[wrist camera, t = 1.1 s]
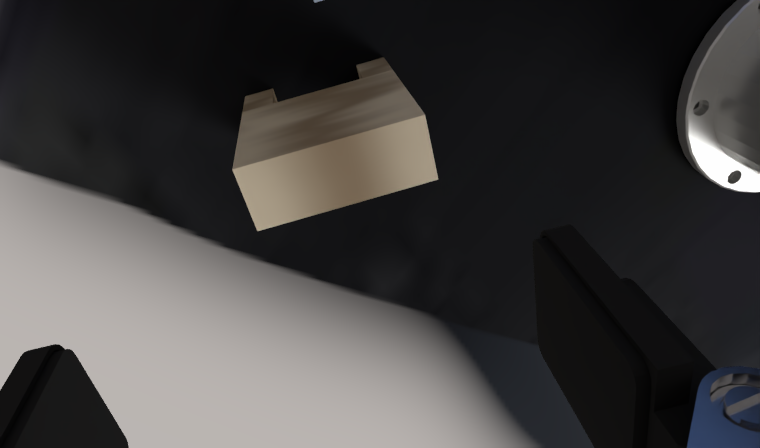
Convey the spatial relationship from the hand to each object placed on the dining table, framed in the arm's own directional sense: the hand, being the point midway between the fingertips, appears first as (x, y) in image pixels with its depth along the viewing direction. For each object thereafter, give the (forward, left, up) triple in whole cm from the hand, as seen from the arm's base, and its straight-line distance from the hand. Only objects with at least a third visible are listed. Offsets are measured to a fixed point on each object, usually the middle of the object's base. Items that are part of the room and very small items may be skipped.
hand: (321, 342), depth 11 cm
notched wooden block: (-1, -1, -19) cm, 19 cm away
